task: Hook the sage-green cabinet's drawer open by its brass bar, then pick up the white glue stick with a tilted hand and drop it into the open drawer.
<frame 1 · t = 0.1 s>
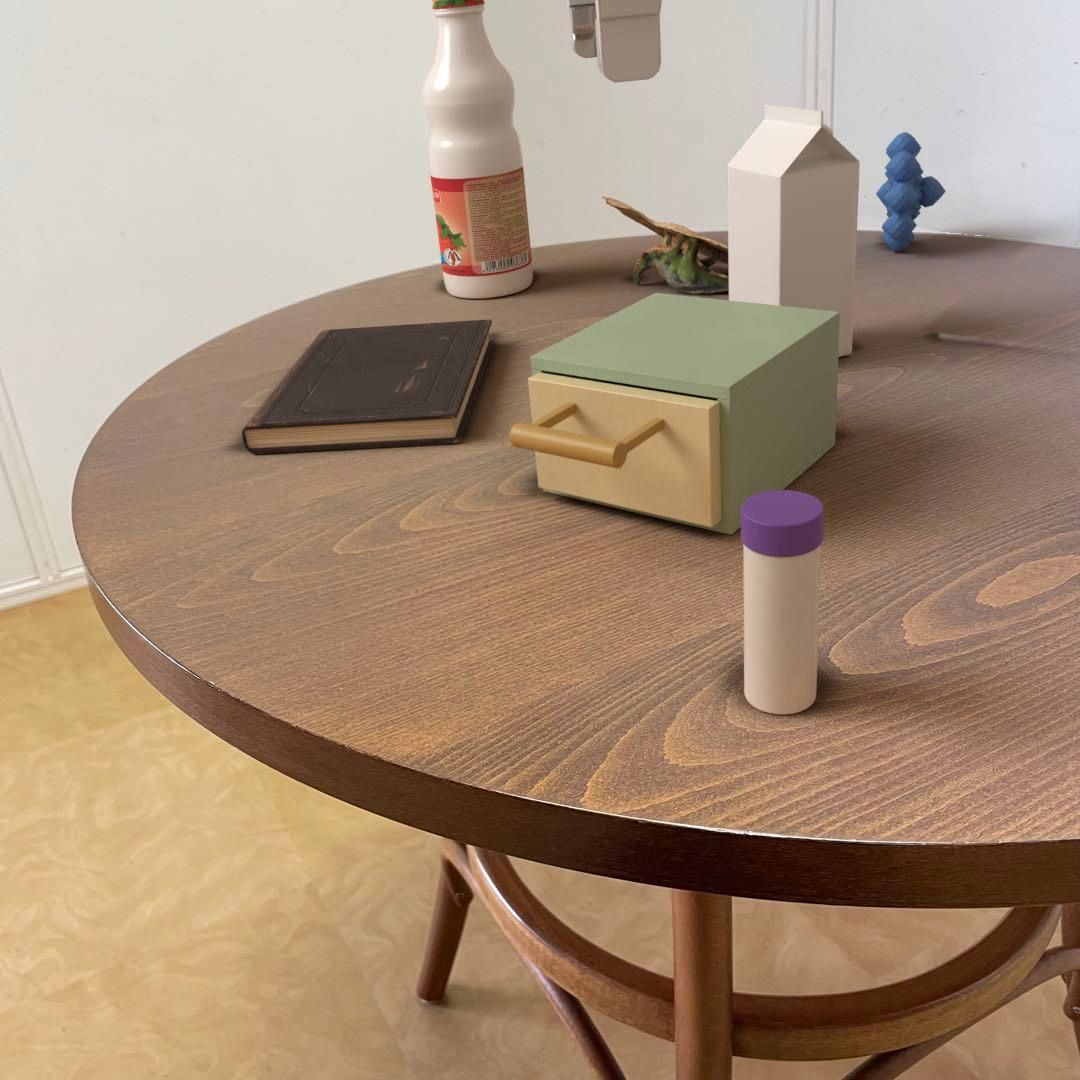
hand: (611, 66, 39), 27 cm above the table, tool pointing down, fingers open, 8 cm apart
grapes: (906, 253, 117), on the table
drawer: (652, 427, 69), point 5 cm above the table, slide at 0.0 cm
hardcover book: (382, 396, 92), on the table
glue stick: (779, 694, 51), on the table
cabinet: (691, 467, 74), on the table
fruit juice: (489, 289, 119), on the table
milk carton: (789, 356, 92), on the table
green animal figurine: (693, 286, 113), on the table
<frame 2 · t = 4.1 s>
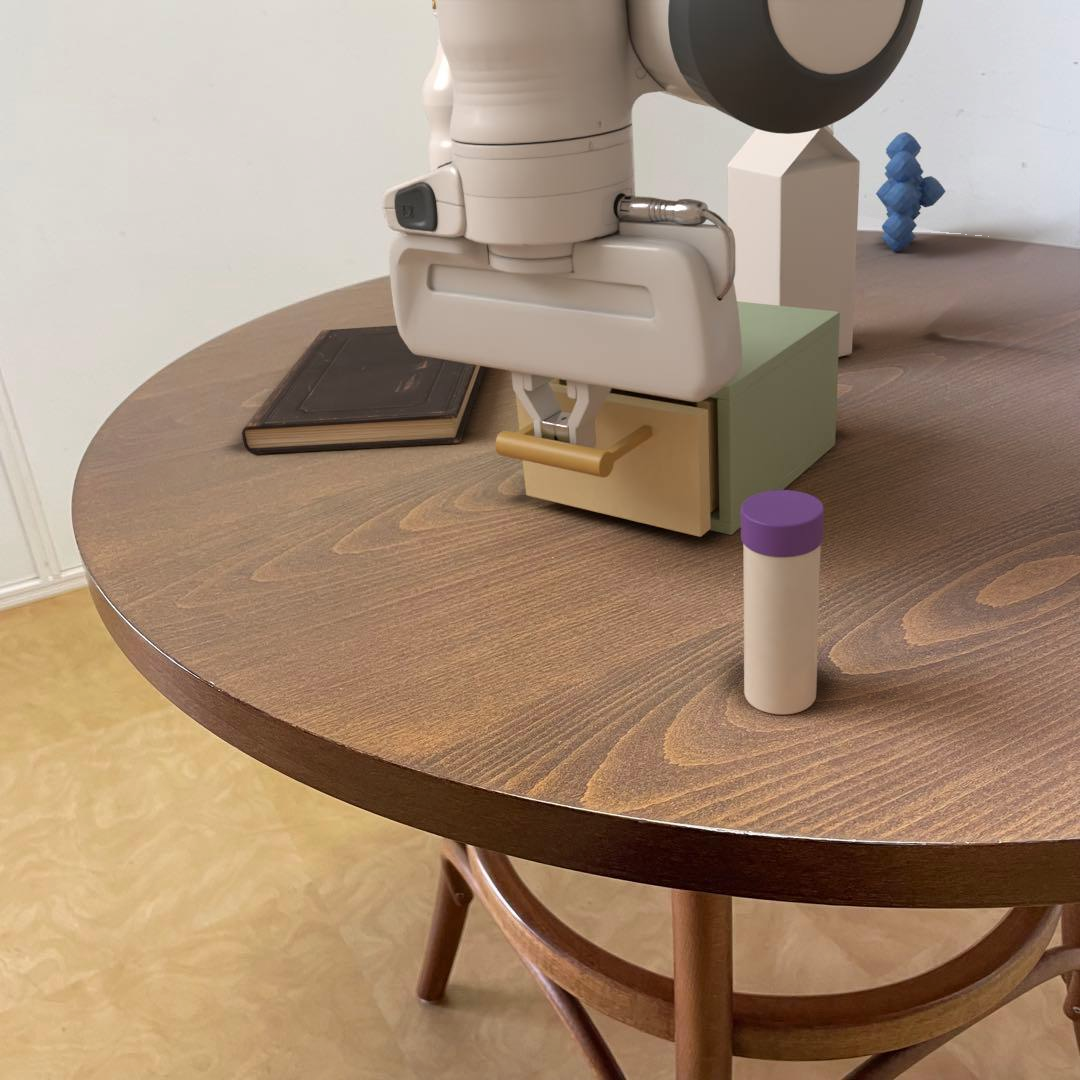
hand: (566, 448, 62), 6 cm above the table, tool pointing down, fingers closed
drawer: (641, 434, 68), point 5 cm above the table, slide at 1.3 cm, touching gripper
everything else where it was.
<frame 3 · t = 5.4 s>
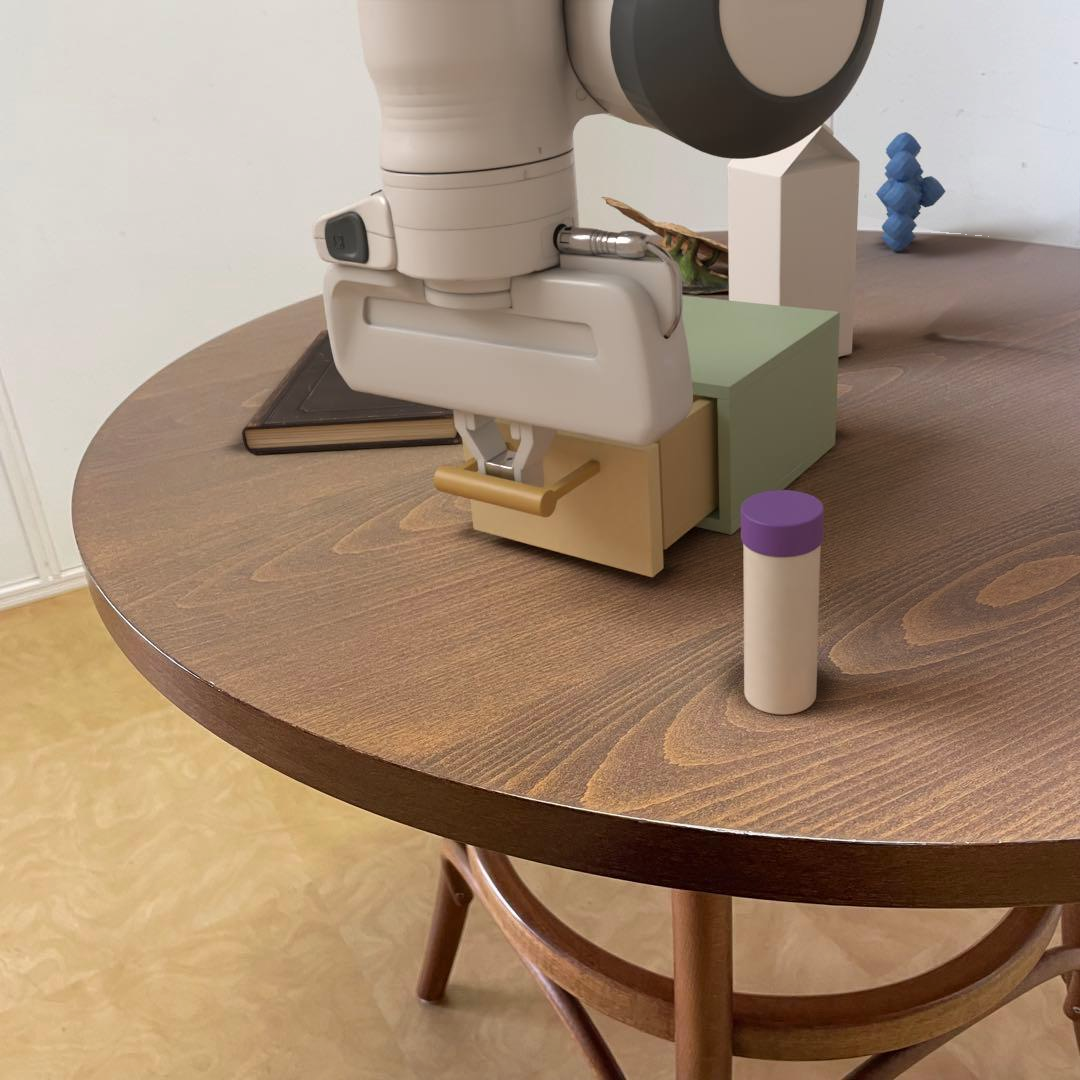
hand: (513, 490, 59), 6 cm above the table, tool pointing down, fingers closed, pressing on drawer
drawer: (593, 466, 64), point 5 cm above the table, slide at 6.5 cm, touching gripper
everything else where it was.
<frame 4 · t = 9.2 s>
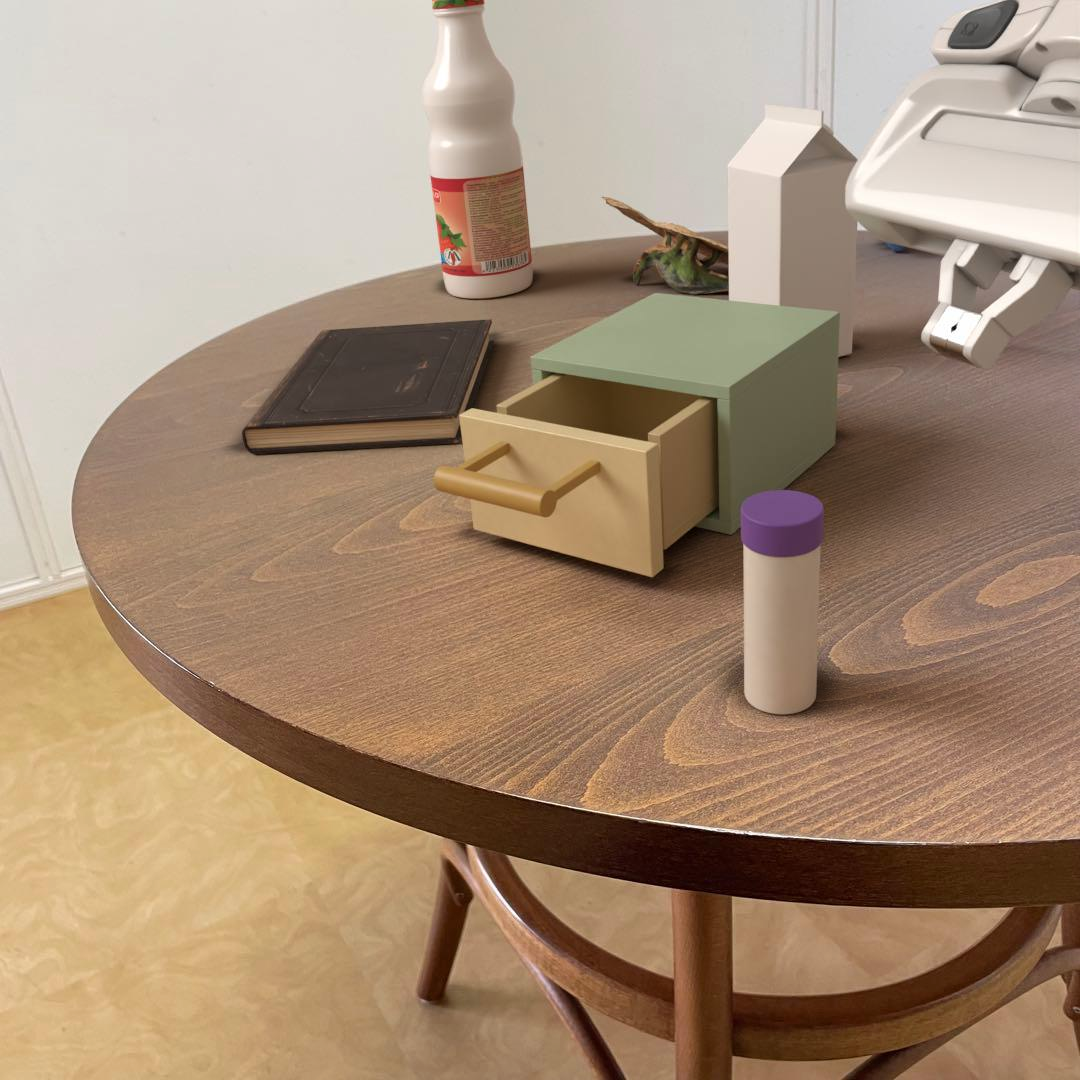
hand: (952, 355, 49), 14 cm above the table, tool tilted 40°, fingers closed
drawer: (593, 466, 64), point 5 cm above the table, slide at 6.5 cm
everything else where it was.
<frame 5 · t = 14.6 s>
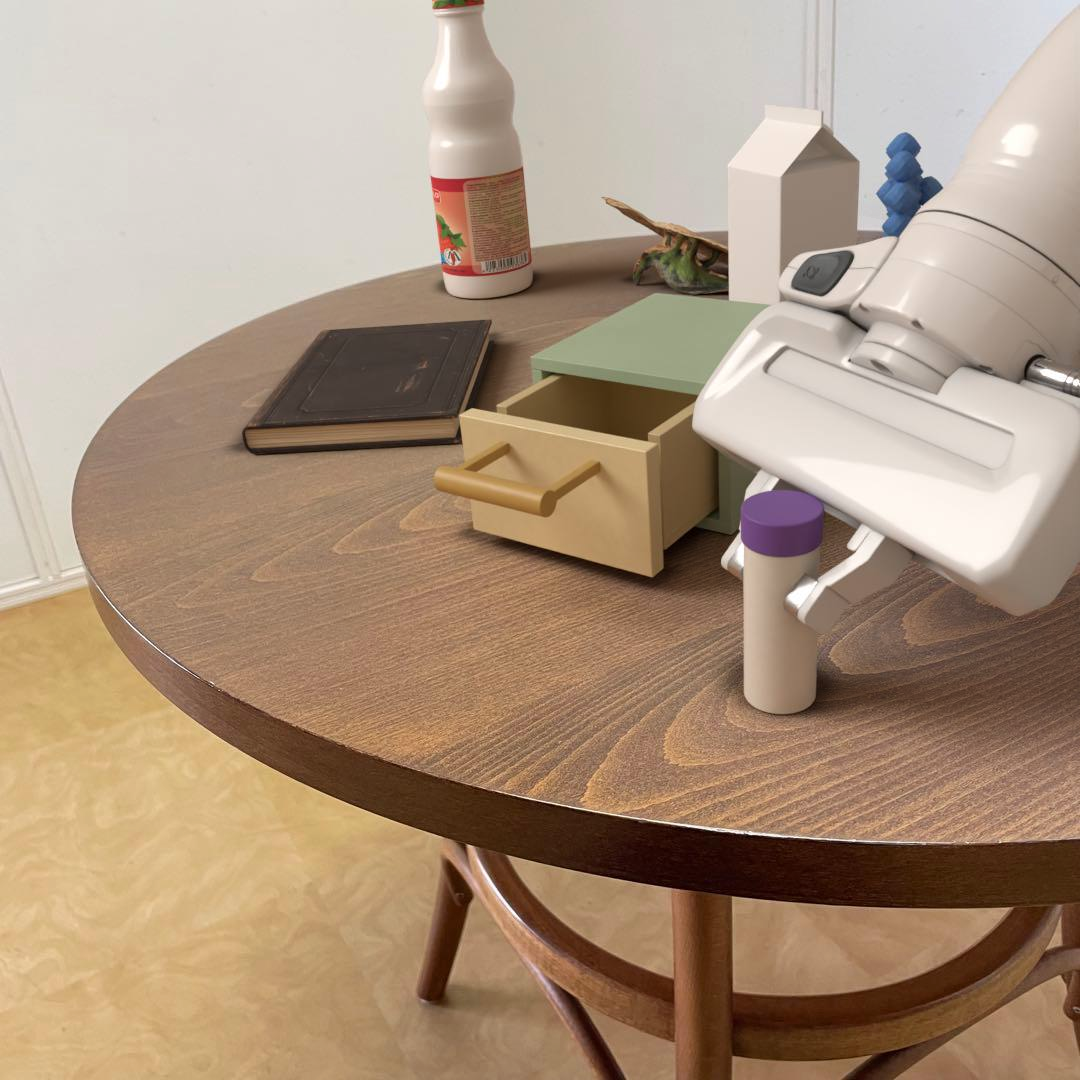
hand: (768, 599, 49), 5 cm above the table, tool tilted 45°, fingers closed on glue stick, 3 cm apart
glue stick: (779, 693, 51), on the table, touching gripper
everything else where it was.
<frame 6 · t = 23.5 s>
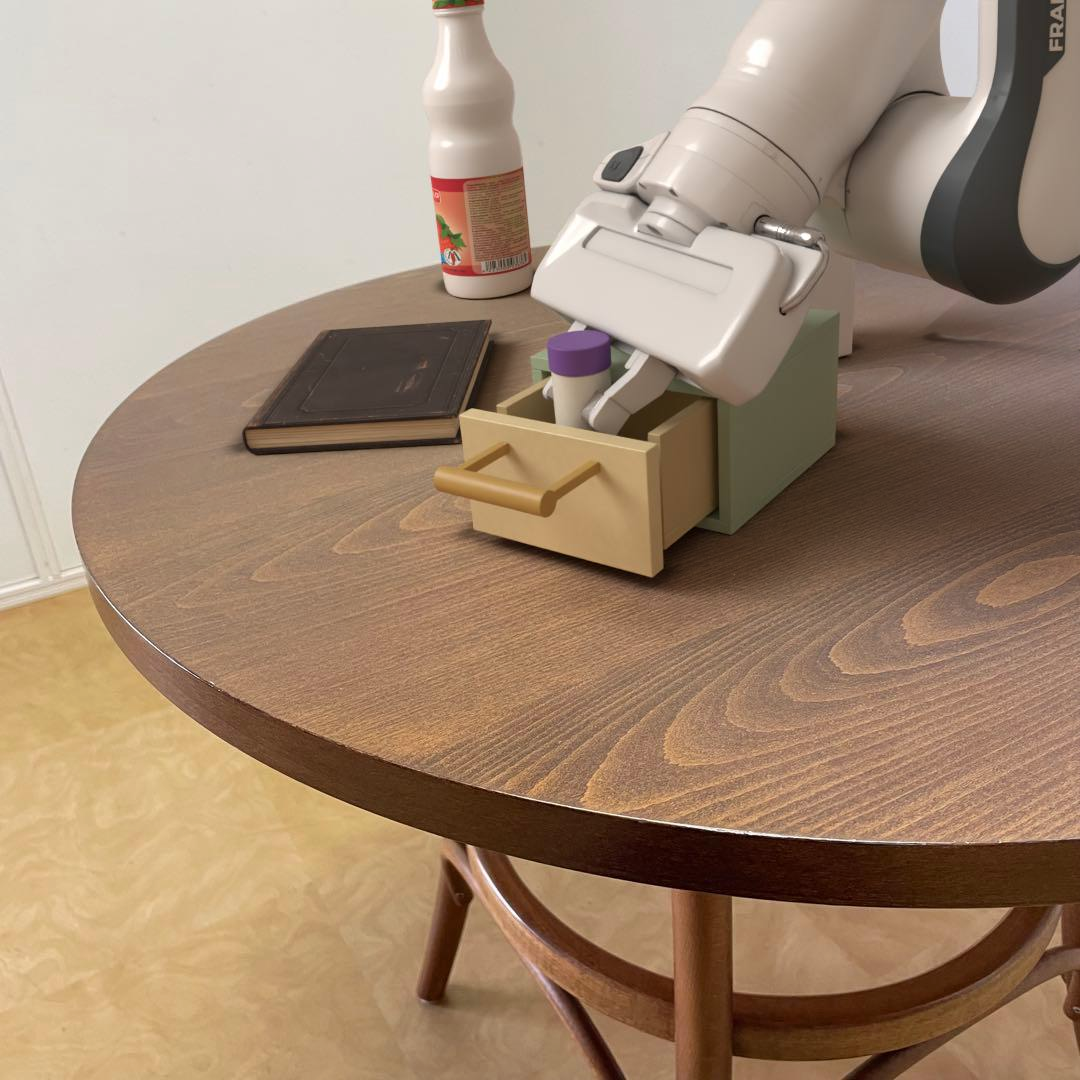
hand: (574, 417, 62), 8 cm above the table, tool tilted 45°, fingers closed on glue stick, 3 cm apart
glue stick: (590, 499, 65), point 3 cm above the table, touching gripper
everything else where it was.
when the fingers open (10 cm above the table, at t = 32.1 s): glue stick drops 3 cm, resting on drawer.
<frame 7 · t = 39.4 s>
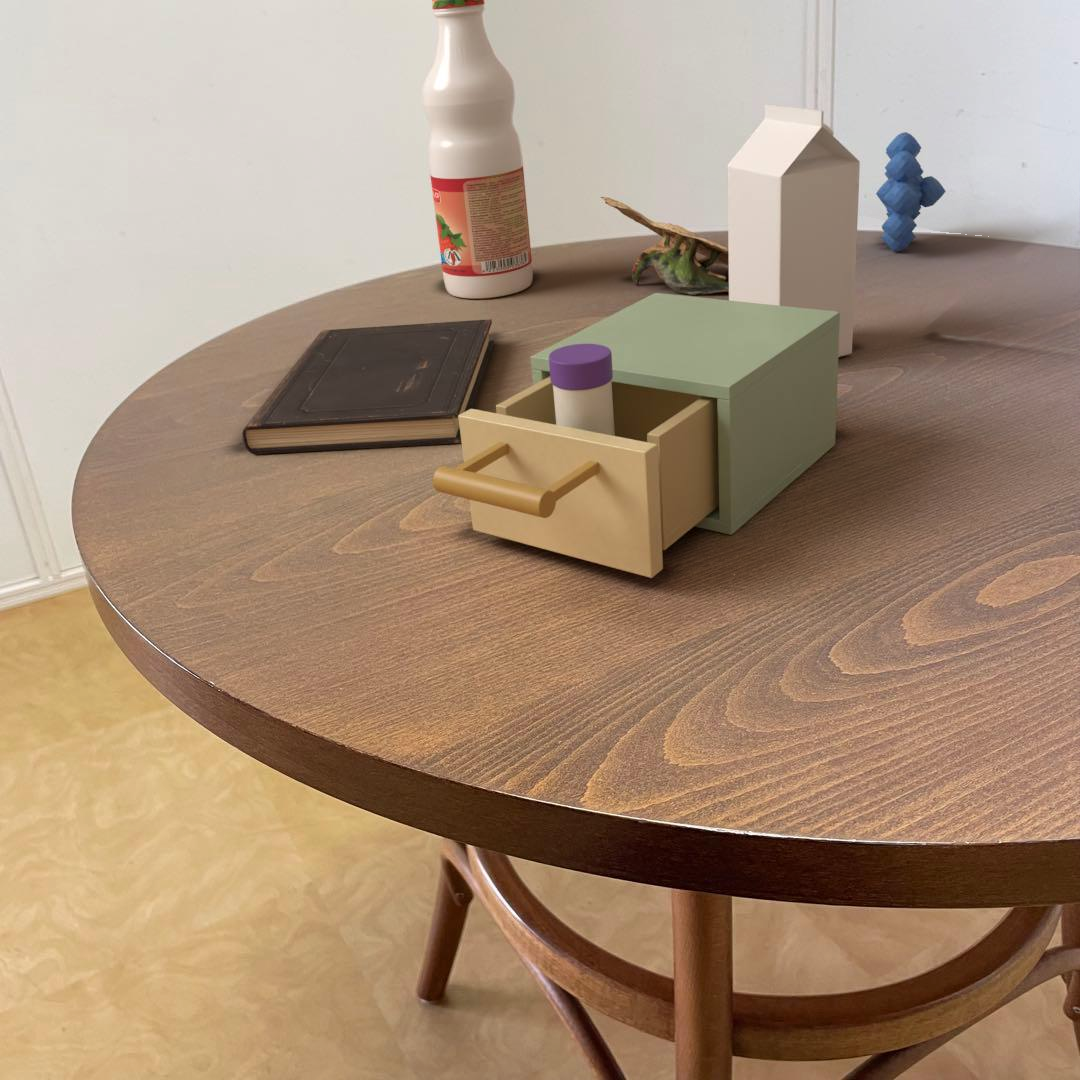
drawer: (592, 467, 64), point 5 cm above the table, slide at 6.5 cm, touching glue stick
glue stick: (591, 510, 65), point 2 cm above the table, touching drawer
everything else where it was.
at the end: drawer slide at 6.5 cm; glue stick inside the target area in the drawer (4.3 cm from its centre), point 2.0 cm above the cabinet's base; the gripper is holding nothing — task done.
